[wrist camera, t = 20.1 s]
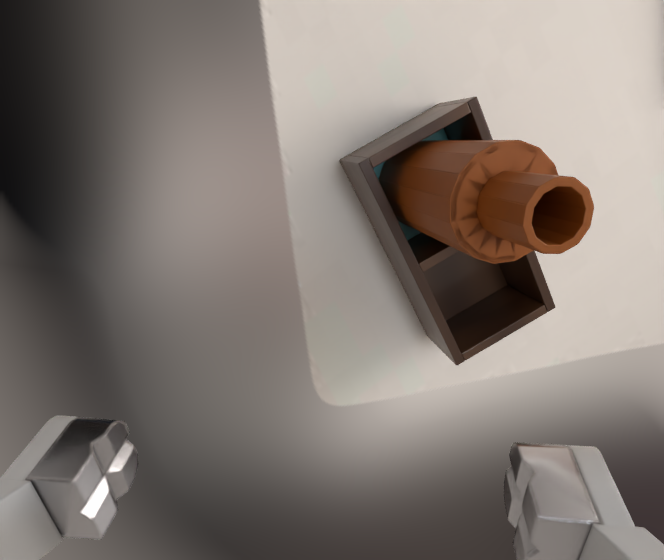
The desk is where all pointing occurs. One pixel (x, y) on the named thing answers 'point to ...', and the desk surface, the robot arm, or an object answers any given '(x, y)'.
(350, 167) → the box
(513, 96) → the desk surface
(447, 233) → the bottle
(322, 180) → the desk surface
